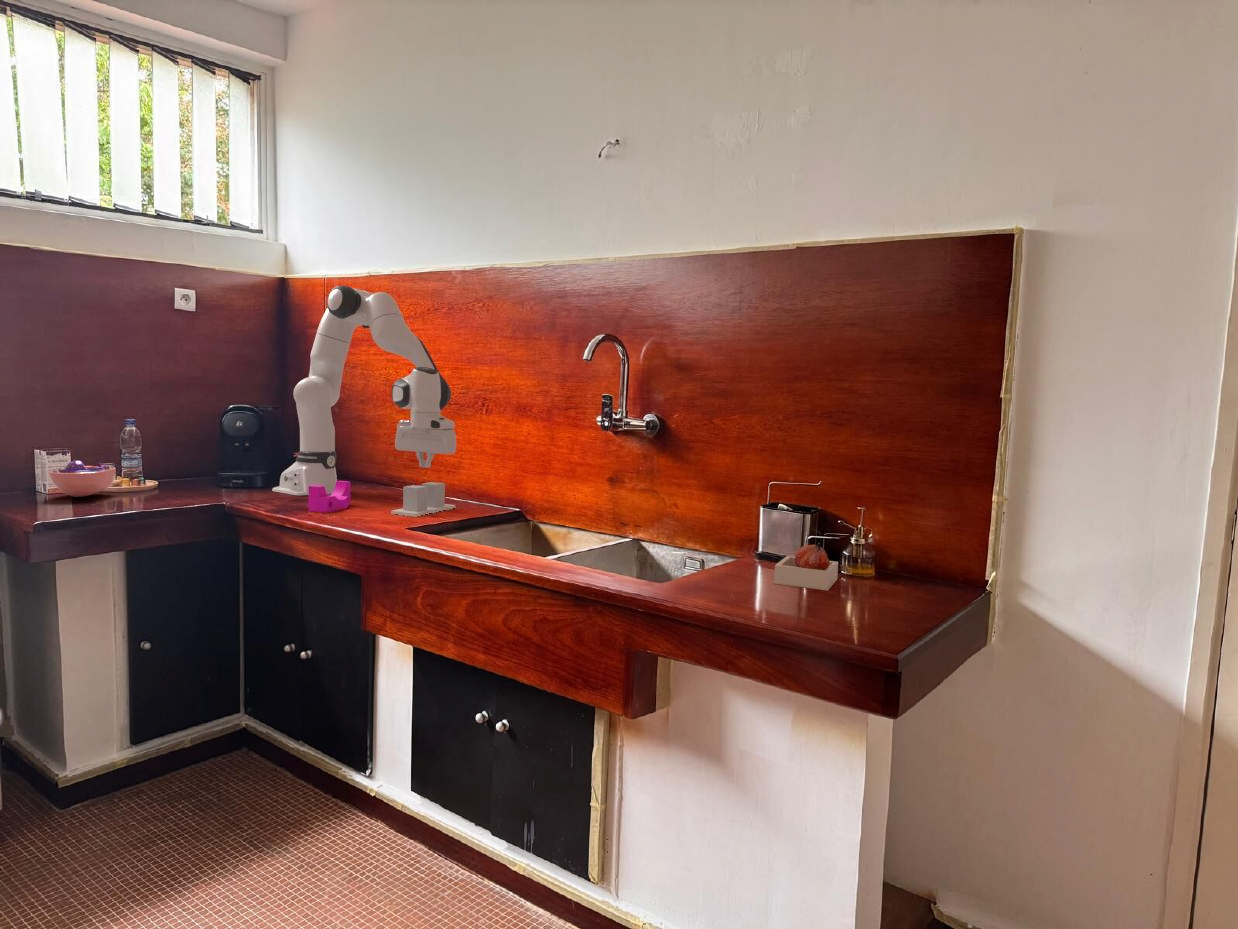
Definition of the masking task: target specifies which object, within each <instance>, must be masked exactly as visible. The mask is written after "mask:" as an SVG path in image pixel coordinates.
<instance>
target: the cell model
mask: <svg viewBox="0 0 1238 929" xmlns="http://www.w3.org/2000/svg"><path fill="white" fill-rule="evenodd" d="M97 465H98V466H97ZM97 465H96V466H95V465H85V464H84V463H83V462H82V461H81V460H72V461H70V462H68V463H67V465H66V466H63V467H58V468H54V469H51V470H48V476H49V478H50V479H51V482H52V484H54V486H55V487H56V488H57V489H58V490H59V491H60V492H62V493H64V494H66V495H68V496H70V497H76V498H78V497H88V496H91V495H95V494H97V493H100V492H103V491H105V490H106V489H108V488H110V487H112V485H113V483H114V481H115V478H116V467H113V466H109V465H107V464H103V463H102V462H98V464H97Z"/></svg>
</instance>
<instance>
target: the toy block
mask: <svg viewBox="0 0 1238 929" xmlns="http://www.w3.org/2000/svg"><path fill="white" fill-rule="evenodd" d="M349 506H351V481H347V480H337V481H336V486H335V489H334V491H333V493H332V494H327V493H326V490H325V486H319V485H312V486H309V495H308V512H316V513H323V514H327V513H330V512H336V511H339V510H343V509H348V508H347V507H349ZM335 510H336V511H335Z"/></svg>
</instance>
